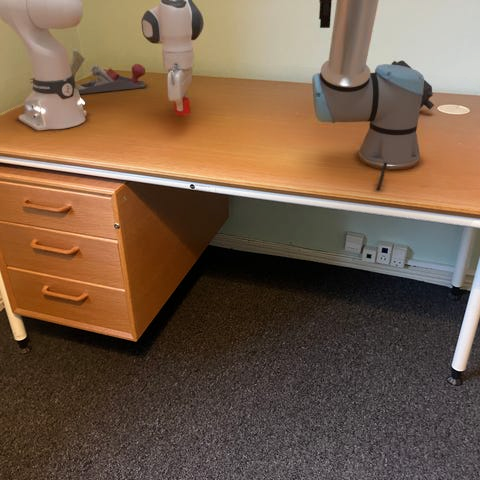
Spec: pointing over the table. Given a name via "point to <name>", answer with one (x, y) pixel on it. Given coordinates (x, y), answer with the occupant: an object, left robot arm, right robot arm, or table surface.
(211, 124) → the table surface
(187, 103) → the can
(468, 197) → the table surface
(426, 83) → the tool
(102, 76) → the hand plane
